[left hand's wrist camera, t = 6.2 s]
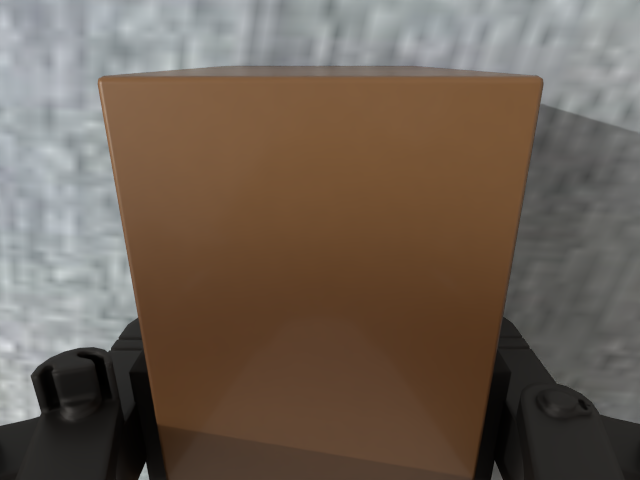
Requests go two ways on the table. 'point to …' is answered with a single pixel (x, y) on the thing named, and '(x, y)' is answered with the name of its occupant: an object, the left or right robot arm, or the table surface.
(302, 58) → the table surface
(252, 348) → the post
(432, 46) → the table surface
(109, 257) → the table surface
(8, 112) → the table surface
